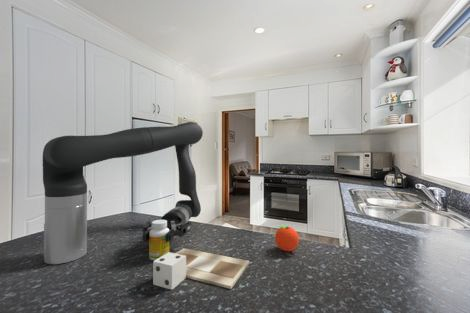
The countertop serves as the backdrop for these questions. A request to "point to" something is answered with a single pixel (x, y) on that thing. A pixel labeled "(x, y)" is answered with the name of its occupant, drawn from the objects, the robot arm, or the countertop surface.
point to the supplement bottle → (158, 239)
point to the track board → (213, 268)
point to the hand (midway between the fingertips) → (155, 238)
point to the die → (169, 270)
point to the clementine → (286, 238)
